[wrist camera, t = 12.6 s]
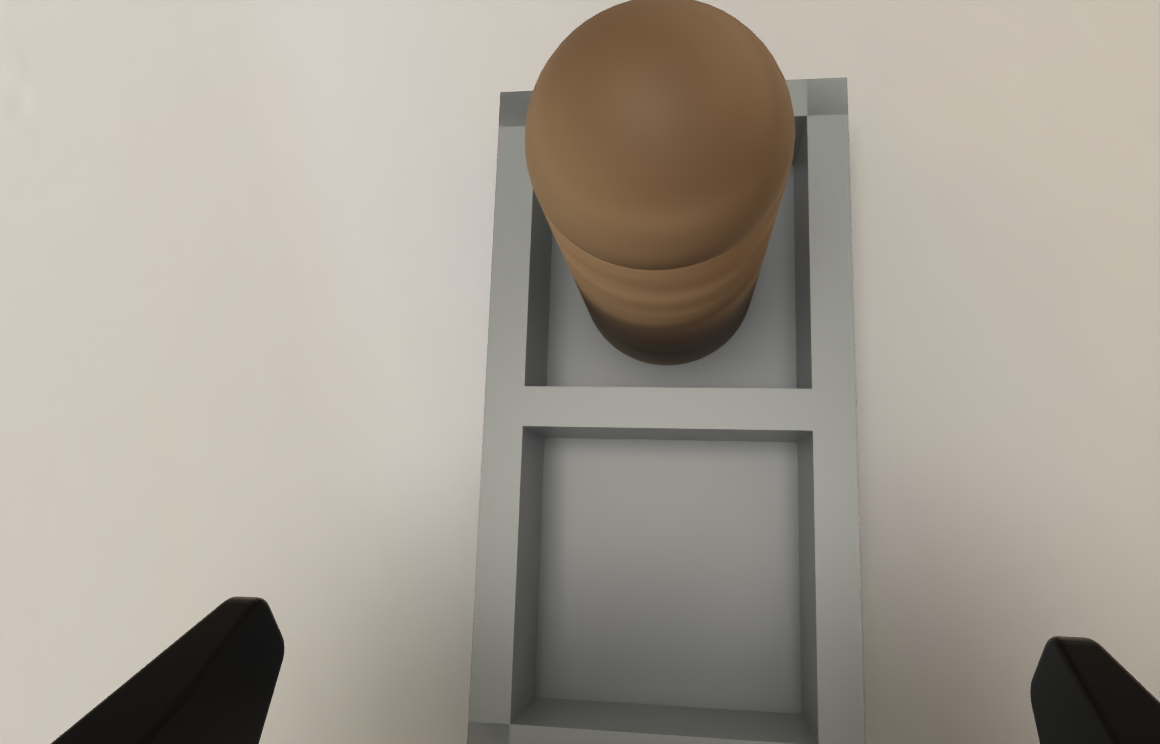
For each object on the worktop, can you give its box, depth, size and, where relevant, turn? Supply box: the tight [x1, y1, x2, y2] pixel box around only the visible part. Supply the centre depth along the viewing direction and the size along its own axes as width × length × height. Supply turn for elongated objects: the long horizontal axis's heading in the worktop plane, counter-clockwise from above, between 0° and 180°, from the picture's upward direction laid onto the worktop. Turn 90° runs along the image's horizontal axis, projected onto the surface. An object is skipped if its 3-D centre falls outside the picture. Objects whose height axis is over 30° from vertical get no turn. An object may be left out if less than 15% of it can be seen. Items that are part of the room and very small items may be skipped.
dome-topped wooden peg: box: [525, 0, 795, 365], centre depth 18 cm, size 5×5×11 cm
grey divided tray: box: [467, 78, 865, 744], centre depth 22 cm, size 17×9×4 cm, turn 178°
